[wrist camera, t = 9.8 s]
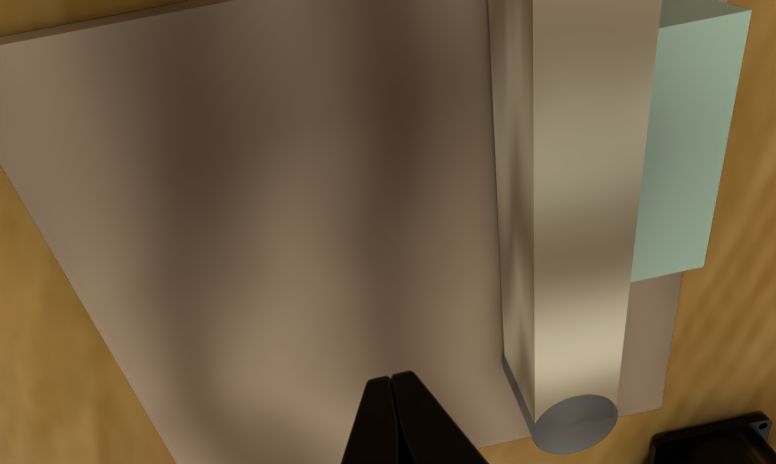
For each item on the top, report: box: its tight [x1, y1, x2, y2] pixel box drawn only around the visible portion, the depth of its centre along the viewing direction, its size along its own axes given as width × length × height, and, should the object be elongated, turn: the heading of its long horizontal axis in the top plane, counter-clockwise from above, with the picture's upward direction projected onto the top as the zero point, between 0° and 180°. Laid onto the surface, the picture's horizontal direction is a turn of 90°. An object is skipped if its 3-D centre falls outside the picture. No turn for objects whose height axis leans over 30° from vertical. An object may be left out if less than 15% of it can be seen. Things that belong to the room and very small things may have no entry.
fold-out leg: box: [488, 0, 662, 454], centre depth 18 cm, size 17×3×4 cm, turn 8°
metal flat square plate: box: [0, 0, 728, 464], centre depth 21 cm, size 22×21×2 cm
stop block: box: [630, 0, 752, 282], centre depth 17 cm, size 3×8×3 cm, turn 9°
